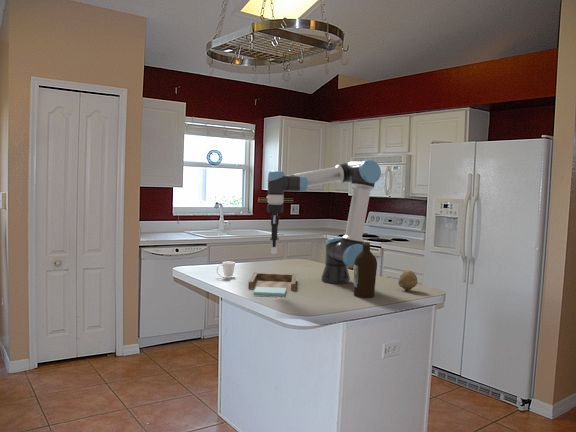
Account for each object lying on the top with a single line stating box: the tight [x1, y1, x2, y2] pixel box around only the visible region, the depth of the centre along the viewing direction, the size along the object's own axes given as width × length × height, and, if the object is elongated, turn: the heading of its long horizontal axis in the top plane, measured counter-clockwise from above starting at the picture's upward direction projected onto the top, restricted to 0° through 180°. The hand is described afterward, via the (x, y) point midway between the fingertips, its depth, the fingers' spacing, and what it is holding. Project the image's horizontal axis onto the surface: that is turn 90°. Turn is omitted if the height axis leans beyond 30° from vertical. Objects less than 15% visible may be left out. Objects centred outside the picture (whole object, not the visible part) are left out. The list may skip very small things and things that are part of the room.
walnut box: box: [247, 272, 297, 292], centre depth 254 cm, size 22×25×4 cm
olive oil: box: [353, 241, 378, 299], centre depth 239 cm, size 11×11×25 cm
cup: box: [216, 260, 236, 279], centre depth 271 cm, size 7×10×8 cm
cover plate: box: [253, 287, 287, 299], centre depth 235 cm, size 14×12×2 cm
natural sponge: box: [397, 270, 419, 291], centre depth 256 cm, size 9×9×10 cm
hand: (274, 253), depth 244 cm, fingers closed
